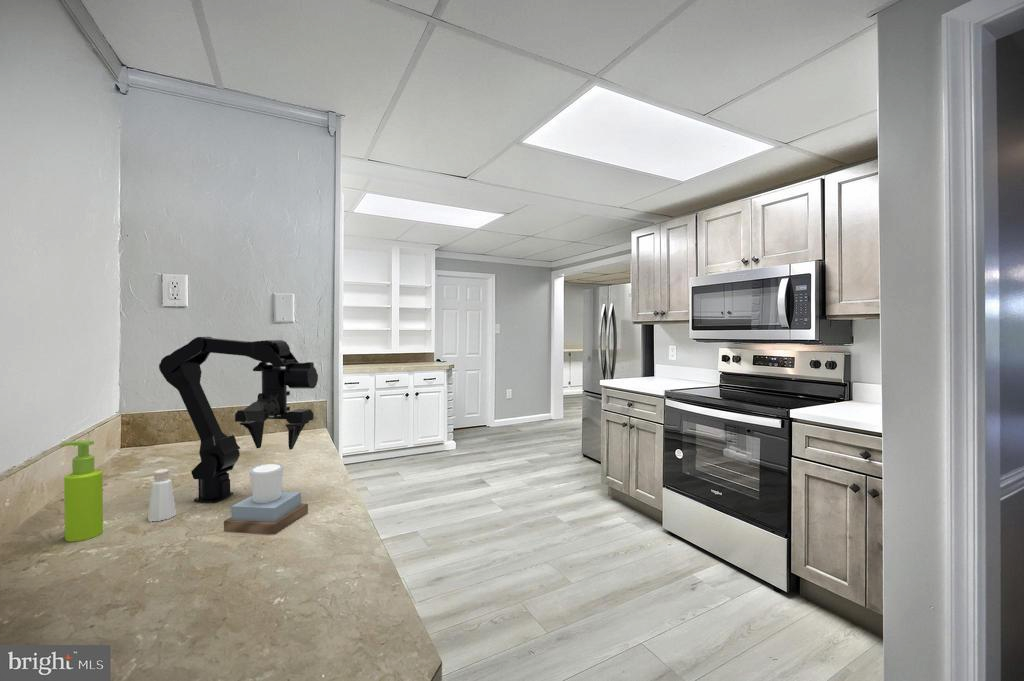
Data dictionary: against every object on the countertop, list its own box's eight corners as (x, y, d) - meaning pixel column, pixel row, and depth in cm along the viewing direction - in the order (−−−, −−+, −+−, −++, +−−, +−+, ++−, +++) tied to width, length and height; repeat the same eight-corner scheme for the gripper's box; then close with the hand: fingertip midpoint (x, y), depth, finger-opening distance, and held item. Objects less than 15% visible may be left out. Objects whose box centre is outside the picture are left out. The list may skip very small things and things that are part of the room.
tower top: (231, 520, 99) (231, 506, 99) (261, 503, 109) (261, 490, 109) (274, 522, 98) (274, 508, 98) (300, 505, 108) (300, 492, 108)
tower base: (224, 534, 99) (223, 520, 99) (262, 513, 111) (262, 501, 111) (274, 538, 97) (274, 524, 97) (307, 516, 109) (307, 503, 109)
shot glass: (266, 506, 100) (266, 475, 99) (242, 501, 102) (241, 470, 101) (290, 494, 106) (290, 464, 105) (267, 489, 108) (267, 460, 108)
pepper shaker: (181, 514, 108) (181, 468, 108) (157, 523, 103) (157, 474, 103) (165, 511, 110) (165, 466, 110) (141, 520, 105) (140, 472, 104)
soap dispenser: (76, 530, 99) (75, 438, 99) (110, 529, 100) (109, 438, 100) (51, 542, 93) (50, 445, 93) (87, 541, 94) (86, 444, 94)
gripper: (217, 391, 111) (218, 455, 112) (287, 393, 109) (287, 458, 109) (250, 386, 122) (250, 444, 123) (314, 387, 120) (314, 447, 120)
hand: (274, 448), depth 118 cm, fingers open, 9 cm apart
